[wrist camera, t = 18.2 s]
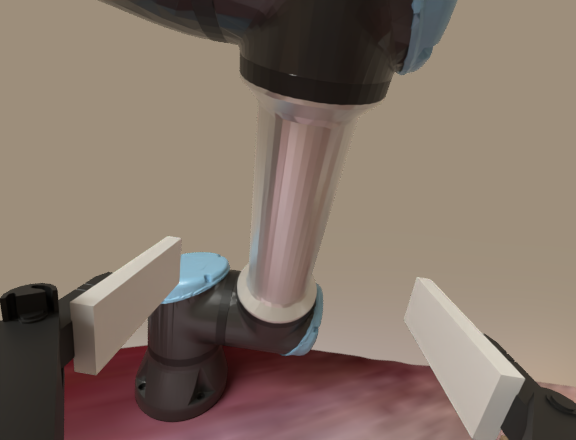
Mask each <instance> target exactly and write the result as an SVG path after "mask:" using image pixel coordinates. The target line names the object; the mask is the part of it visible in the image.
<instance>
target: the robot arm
mask: <svg viewBox="0 0 576 440" xmlns="http://www.w3.org/2000/svg"><path fill="white" fill-rule="evenodd" d="M98 1H101V2H104V3H106V4H108V5H111V6H113V7H116V8H118V9H121V10H123V11H125V12H128V13H130V14H133V15H135V16H137V17H140V18H142V19H145V20H147V21H150V22H153V23H155V24H158V25H161V26H163V27H166V28H169V29H172V30H175V31H178V32H181V33H184V34H187V35H191V36H195V37H199V38H204V39H210V40H213V41H218V42H224V43H231V44H235V45H238V46H239V48H240V78H241V80H242V81H243V82H244V84H245V85H246V86H247V87H248V88H249V90H250V91H251V92H252V93H253V95H254V96H255V97H256V98H257V100H258V112H257V129H256V148H255V165H254V183H253V202H252V219H251V238H250V255H249V263H248V264H247V265H246V266H245V267H244V268H243V270H242V271H236V270H230V265H229V263H228V260H227V259H226V258H225V257H221V256H220V255H219V254H215V253H208V252H197V253H196V252H195V253H187V254H182V255H181V241H182V239H181V238H177V237H171V236H167V237H166V238H164V239H163V240H161V241H160V242H158V243H157V244H156V245H154V246H153V247H151V248H150V249H148V250H147V251H145V252H144V253H142V254H141V255H139V256H138V257H137V258H135V259H133V260H132V261H130V262H129V263H127V264H126V265H125V266H123V267H121V268H120V269H119V270H117V271H115V272H114V273H110V272H107V273H105V274H102V275H99V276H96V277H94V278H93V279H91V280H90V281H88V282H86V284H83V285H82V286H80V287H78V288H77V290H74V291H72V292H71V293H69V294H67V295H66V296H64V297H63V298H61V299H60V300H58V291H57V288H56V286H54V285H51V284H45V283H39V284H29V285H25V286H20V287H17V288H14V289H12V290H10V291H8V292H6V293H5V294H3V295H2V296H1V298H0V305H1V311H2V318H3V321H0V440H64V366H65V365H66V364H67V363H68V362H69V361H70V360H72V359H73V358H74V369H75V372H81V373H87V374H93V375H97V374H98V373H99V371H100V370H101V369H102V368H103V367H104V366H105V365H106V364H107V363H108V361H109V360H110V359H111V358H112V357H113V356H114V355H115V354H116V353H117V351H118V350H119V349H120V348H121V347H122V346H123V345H124V344H125V342H126V341H127V340H128V339H129V338H130V337H131V336H132V335H133V334H134V333H135V331H136V330H137V329H138V328H139V327H140V326H141V325H142V324H143V323H144V321H145V320H146V319H147V318H148V348H147V351H146V353H145V355H144V358H143V360H142V362H141V365H140V367H139V369H138V372H137V375H136V379H135V398H136V401H137V404H138V406H139V407H140V409H141V410H142V411H143V412H144V413H145V414H147V415H148V416H150V417H152V418H154V419H157V420H161V421H169V422H174V421H182V420H187V419H190V418H193V417H195V416H198V415H200V414H202V413H203V412H205V411H206V410H208V409H209V408H210V407H212V406H213V405H214V404H215V403H216V402H217V401H218V399H219V398H220V397H221V395H222V393H223V391H224V389H225V386H226V382H227V373H228V366H227V361H226V357H225V354H224V350H223V347H222V345H224V346H231V347H238V348H244V349H251V350H258V351H265V352H271V353H278V354H280V355H283V356H289V355H296V356H301V355H304V354H306V353H308V352H309V351H310V350H311V348H312V347H313V345H314V343H315V341H316V338H317V335H318V327H319V326H320V324H321V319H322V311H323V293H322V289H321V287H320V286H319V285H318V284H317V283H316V282H315V279H314V277H313V275H312V272H313V268H314V265H315V262H316V258H317V255H318V252H319V248H320V245H321V241H322V238H323V235H324V232H325V228H326V225H327V221H328V218H329V215H330V211H331V208H332V205H333V201H334V198H335V195H336V191H337V188H338V184H339V181H340V178H341V174H342V171H343V168H344V164H345V161H346V157H347V154H348V151H349V147H350V144H351V140H352V137H353V134H354V131H355V127H356V124H357V120H358V118H359V117H360V116H361V115H363V114H365V113H367V112H368V111H370V110H372V109H373V108H375V107H377V106H378V105H380V104H382V102H383V101H384V99H385V97H386V93H387V90H388V87H389V84H390V82H391V79H392V76H393V74H394V72H396V73H398V74H400V75H405V74H406V73H410V72H414V71H416V70H418V69H419V68H420V67H422V66H423V65H424V64H425V62H426V61H427V60H428V59H429V57H430V55H431V53H432V49H433V46H434V45H436V44H437V43H438V42H439V41H440V39H441V37H442V35H443V33H444V31H445V29H446V27H447V25H448V23H449V20H450V18H451V15H452V12H453V10H454V8H455V5H456V2H457V0H98ZM404 321H405V323H406V325H407V327H408V328H409V330H410V332H411V333H412V335H413V337H414V339H415V341H416V342H417V344H418V346H419V348H420V349H421V351H422V353H423V355H424V356H425V358H426V360H427V361H428V363H429V365H430V367H431V369H432V370H433V372H434V374H435V375H436V377H437V379H438V381H439V382H440V384H441V386H442V388H443V389H444V391H445V393H446V395H447V396H448V398H449V400H450V402H451V403H452V405H453V407H454V409H455V410H456V412H457V414H458V415H459V417H460V419H461V421H462V422H463V424H464V426H465V428H466V429H467V431H468V433H469V435H470V436H471V438H472V439H474V440H496V438H497V436H498V434H499V432H500V430H501V429H502V431H503V432H504V434H505V435H506V437H507V438H508V440H576V404H575V403H574V402H573V401H572V400H570V399H568V398H567V397H565V396H563V395H562V394H560V393H558V392H555V391H553V390H551V389H547V388H543V387H540V386H539V385H538V384H537V383H536V382H535V381H534V380H533V379H532V378H531V377H530V376H529V375H528V374H527V373H526V371H525V370H524V369H523V368H522V367H521V366H520V365H519V364H518V363H516V362H514V360H513V358H512V357H511V356H510V355H509V354H507V353H506V351H505V350H504V349H503V348H502V347H501V346H500V345H499V344H498V343H497V342H496V341H494V340H493V339H491V338H490V337H488V336H487V335H486V334H483V333H481V332H480V330H478V328H477V327H476V326H475V325H474V324H473V323H472V322H471V321H470V320H469V319H468V318H467V317H466V316H465V315H464V314H463V313H462V312H461V311H460V309H459V308H458V307H457V306H456V305H455V304H454V303H453V302H452V301H451V300H450V299H449V298H448V297H447V296H446V295H445V294H444V293H443V292H442V291H441V290H440V288H439V287H438V286H437V285H436V284H435V283H434V282H433V281H432V280H431V279H426V278H420V277H417V279H416V282H415V285H414V288H413V291H412V294H411V298H410V301H409V304H408V307H407V310H406V314H405V317H404Z"/></svg>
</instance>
